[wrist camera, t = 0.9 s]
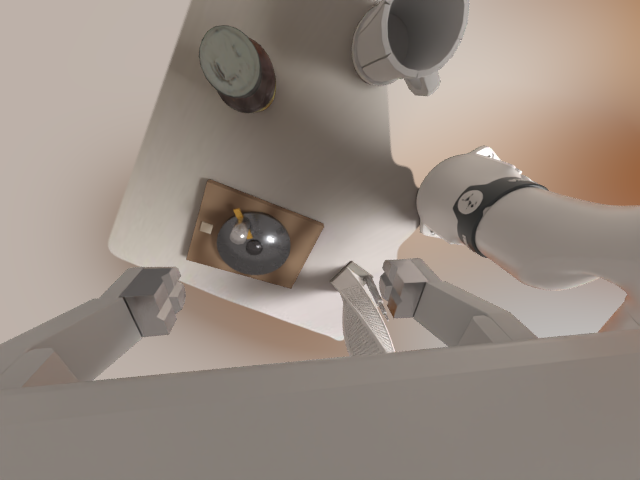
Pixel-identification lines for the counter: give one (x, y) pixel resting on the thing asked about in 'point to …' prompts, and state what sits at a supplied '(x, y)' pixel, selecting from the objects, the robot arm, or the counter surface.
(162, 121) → the counter surface
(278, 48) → the counter surface
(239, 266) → the dial
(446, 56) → the cup
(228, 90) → the sauce bottle
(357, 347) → the skyscraper
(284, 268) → the stand
